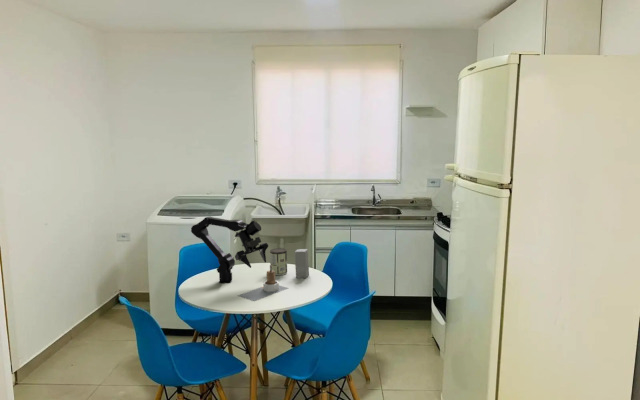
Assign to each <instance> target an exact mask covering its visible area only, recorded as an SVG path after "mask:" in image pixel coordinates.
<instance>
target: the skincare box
mask: <svg viewBox="0 0 640 400" xmlns="http://www.w3.org/2000/svg"><path fill="white" fill-rule="evenodd" d="M309 263H310V262H309V249H308V248H299V249H296V250H295V251H294V265H295V267H294V268H295V279H298V278H300V279H301V278H302V279H307V278H308V277H309V275H310V270H309V269H310V267H309V266H310V265H309Z"/></svg>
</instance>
